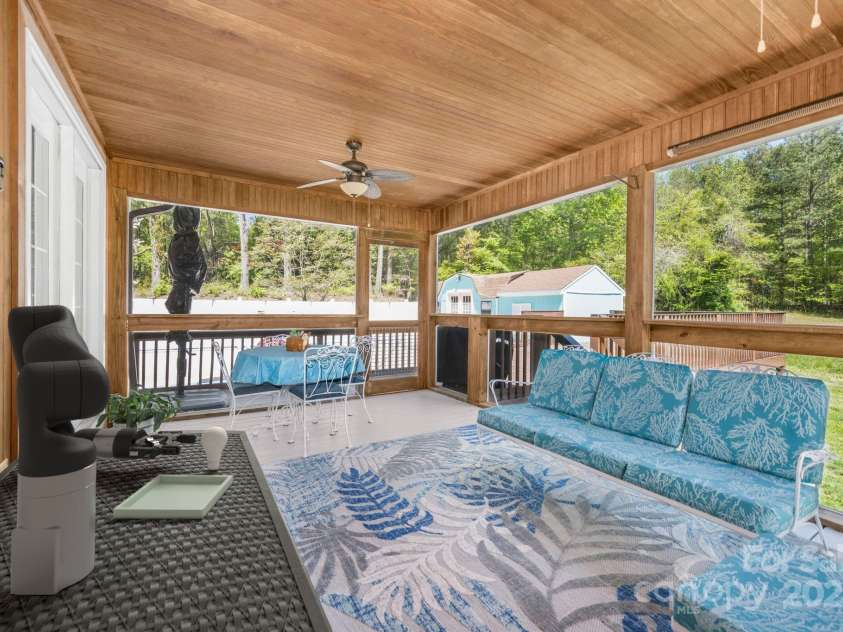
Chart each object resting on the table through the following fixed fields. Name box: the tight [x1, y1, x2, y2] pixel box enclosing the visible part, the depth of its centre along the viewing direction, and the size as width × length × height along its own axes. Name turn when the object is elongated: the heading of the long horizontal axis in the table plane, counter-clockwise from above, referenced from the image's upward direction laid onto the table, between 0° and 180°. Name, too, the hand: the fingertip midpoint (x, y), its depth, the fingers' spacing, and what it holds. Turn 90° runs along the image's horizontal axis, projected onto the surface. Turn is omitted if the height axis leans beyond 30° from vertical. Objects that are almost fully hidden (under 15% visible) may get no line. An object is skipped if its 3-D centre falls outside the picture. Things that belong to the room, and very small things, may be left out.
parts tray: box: [112, 474, 234, 520], centre depth 93 cm, size 17×17×2 cm
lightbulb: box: [200, 426, 228, 471], centre depth 109 cm, size 6×6×11 cm
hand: (188, 444), depth 108 cm, fingers open, 8 cm apart
